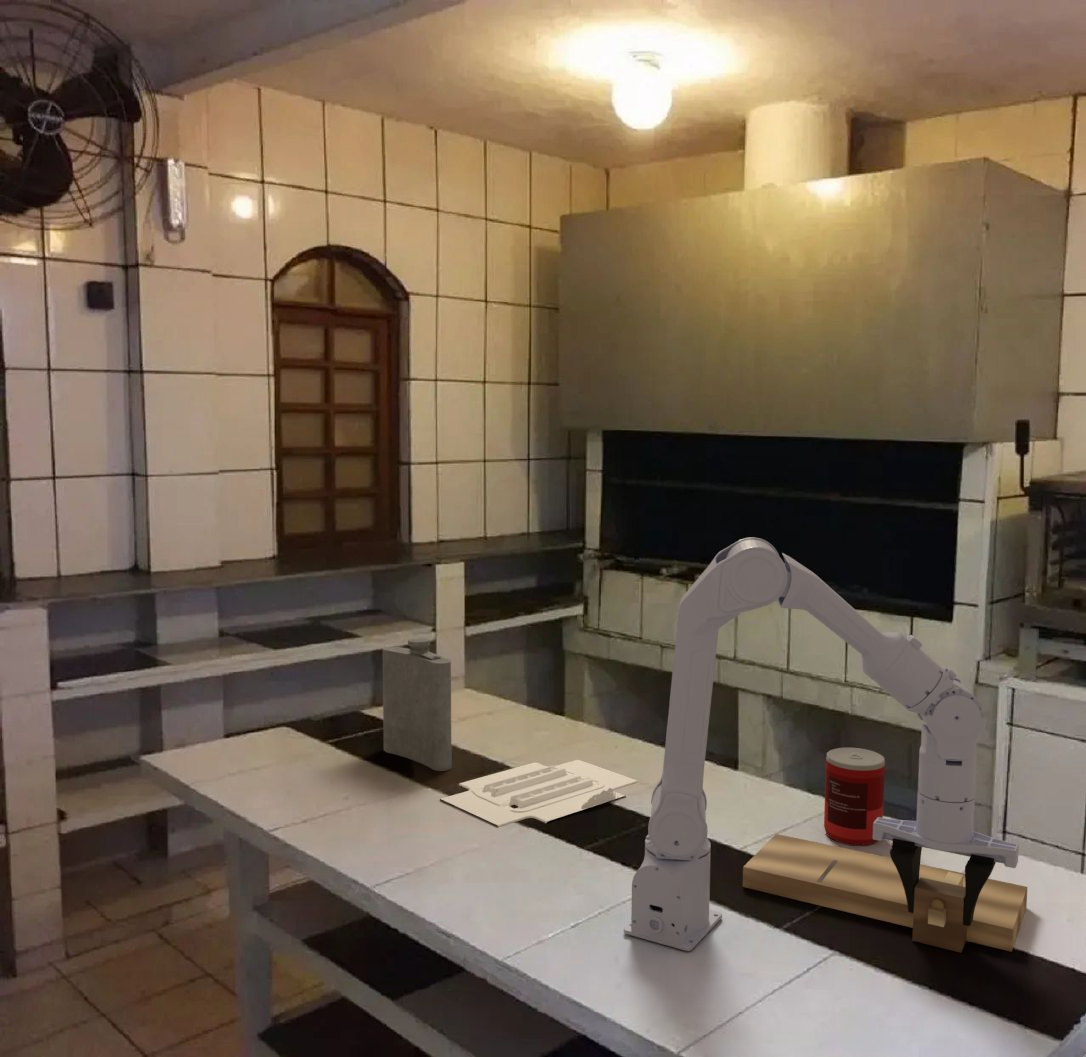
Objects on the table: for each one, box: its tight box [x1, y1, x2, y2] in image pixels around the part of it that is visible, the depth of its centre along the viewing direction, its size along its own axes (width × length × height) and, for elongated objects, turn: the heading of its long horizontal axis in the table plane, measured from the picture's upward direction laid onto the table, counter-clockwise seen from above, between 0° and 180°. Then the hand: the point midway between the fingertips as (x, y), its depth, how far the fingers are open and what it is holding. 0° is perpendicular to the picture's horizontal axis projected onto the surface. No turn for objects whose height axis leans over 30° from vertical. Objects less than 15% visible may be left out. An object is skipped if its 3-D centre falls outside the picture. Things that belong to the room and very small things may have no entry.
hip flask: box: [381, 637, 452, 772], centre depth 176 cm, size 16×4×20 cm, turn 45°
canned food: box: [823, 747, 886, 846], centre depth 145 cm, size 8×8×11 cm
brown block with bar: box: [911, 872, 967, 953], centre depth 118 cm, size 11×5×6 cm, turn 149°
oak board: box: [742, 833, 1028, 952], centre depth 126 cm, size 12×30×2 cm, turn 59°
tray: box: [439, 759, 639, 828], centre depth 161 cm, size 20×28×4 cm
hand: (940, 915), depth 115 cm, fingers closed on brown block with bar, 5 cm apart
